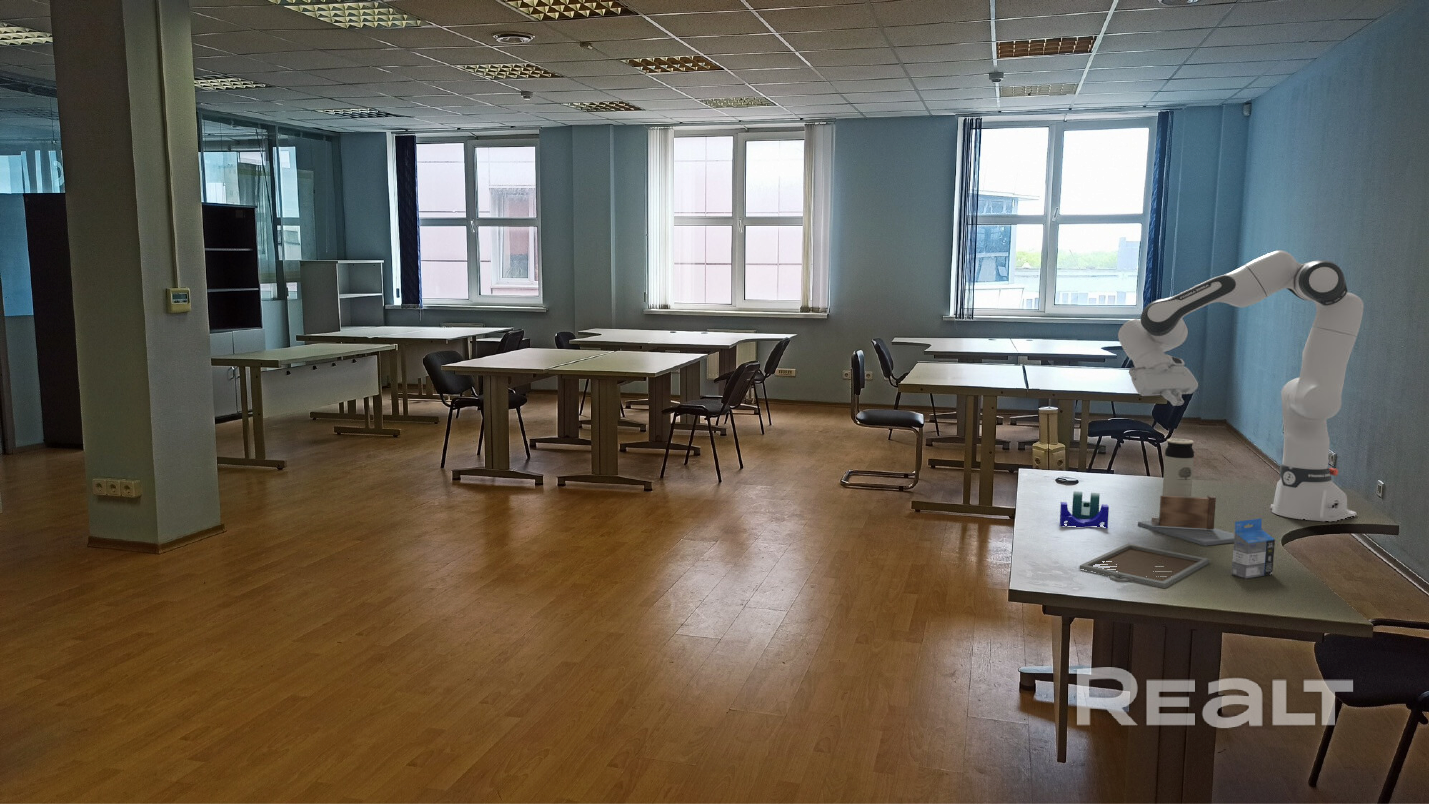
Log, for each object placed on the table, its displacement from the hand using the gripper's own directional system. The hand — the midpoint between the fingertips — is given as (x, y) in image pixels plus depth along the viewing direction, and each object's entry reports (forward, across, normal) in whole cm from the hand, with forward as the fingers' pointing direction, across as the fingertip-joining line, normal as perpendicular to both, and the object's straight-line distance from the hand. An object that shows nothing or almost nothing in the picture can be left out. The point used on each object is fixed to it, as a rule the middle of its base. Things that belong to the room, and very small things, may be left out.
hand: (1178, 404), depth 276 cm
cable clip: (+25, -35, +20) cm, 48 cm away
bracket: (+18, -26, +27) cm, 41 cm away
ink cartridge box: (+59, -31, -15) cm, 69 cm away
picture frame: (+51, -50, -5) cm, 71 cm away
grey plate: (+36, -14, +8) cm, 39 cm away
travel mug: (+13, +16, +32) cm, 38 cm away
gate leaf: (+34, -16, +8) cm, 38 cm away
